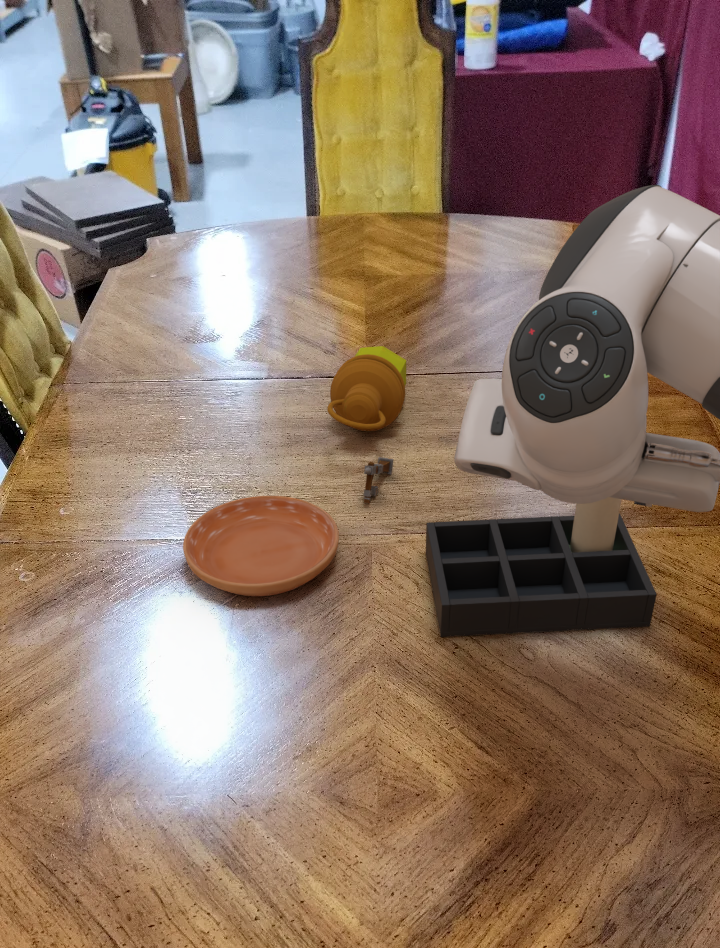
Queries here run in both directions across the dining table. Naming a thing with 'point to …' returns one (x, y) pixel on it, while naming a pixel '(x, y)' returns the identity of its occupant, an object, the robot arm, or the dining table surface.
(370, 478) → the wooden post with brackets
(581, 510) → the cylinder
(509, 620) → the grid
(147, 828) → the dining table surface
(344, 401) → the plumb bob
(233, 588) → the saucer
